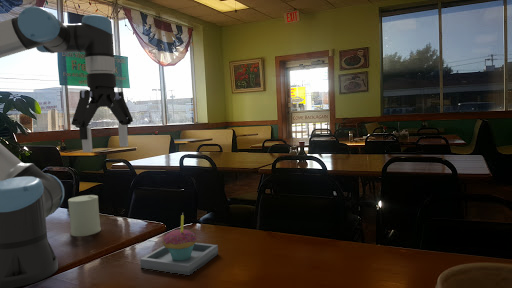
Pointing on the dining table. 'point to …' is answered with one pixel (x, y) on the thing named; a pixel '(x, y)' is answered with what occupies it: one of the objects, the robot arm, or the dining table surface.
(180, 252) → the cupcake
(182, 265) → the tray
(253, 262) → the dining table surface
